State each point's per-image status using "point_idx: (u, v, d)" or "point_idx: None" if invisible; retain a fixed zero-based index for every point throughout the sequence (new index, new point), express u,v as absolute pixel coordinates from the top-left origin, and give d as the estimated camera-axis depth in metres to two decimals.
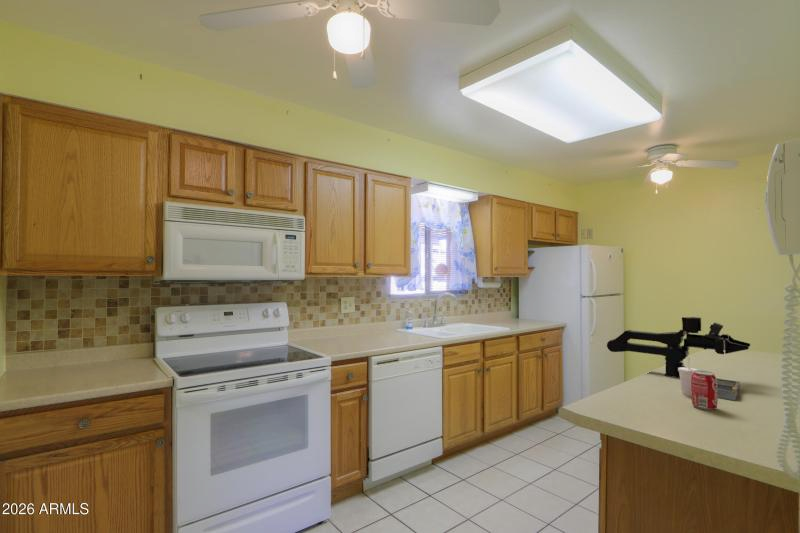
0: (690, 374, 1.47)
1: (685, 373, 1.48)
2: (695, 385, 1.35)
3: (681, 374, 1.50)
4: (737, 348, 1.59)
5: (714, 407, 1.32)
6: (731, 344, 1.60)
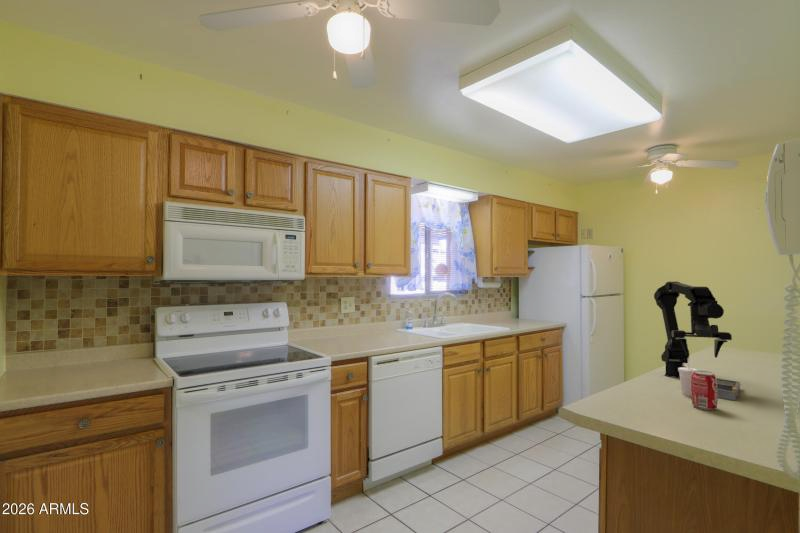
0: (690, 374, 1.47)
1: (685, 373, 1.48)
2: (695, 385, 1.35)
3: (681, 374, 1.50)
4: (683, 347, 1.62)
5: (714, 407, 1.32)
6: None
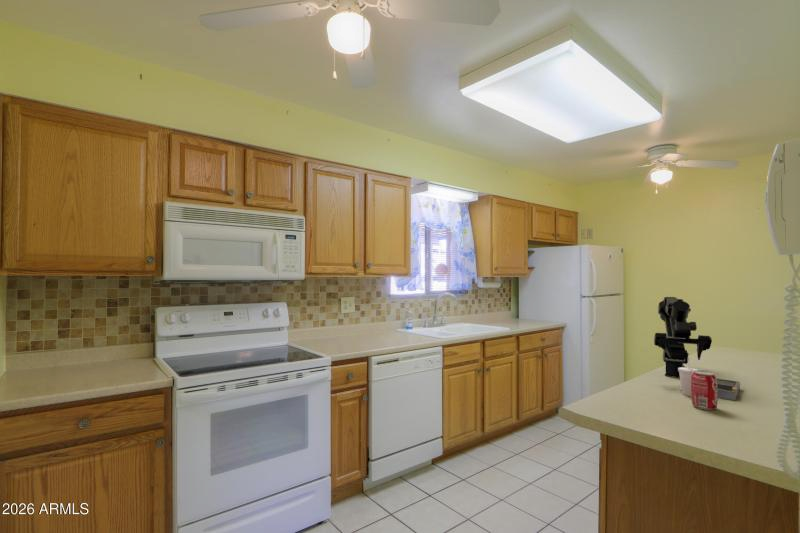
0: (690, 374, 1.47)
1: (685, 373, 1.48)
2: (695, 385, 1.35)
3: (681, 374, 1.50)
4: (666, 350, 1.61)
5: (714, 407, 1.32)
6: None
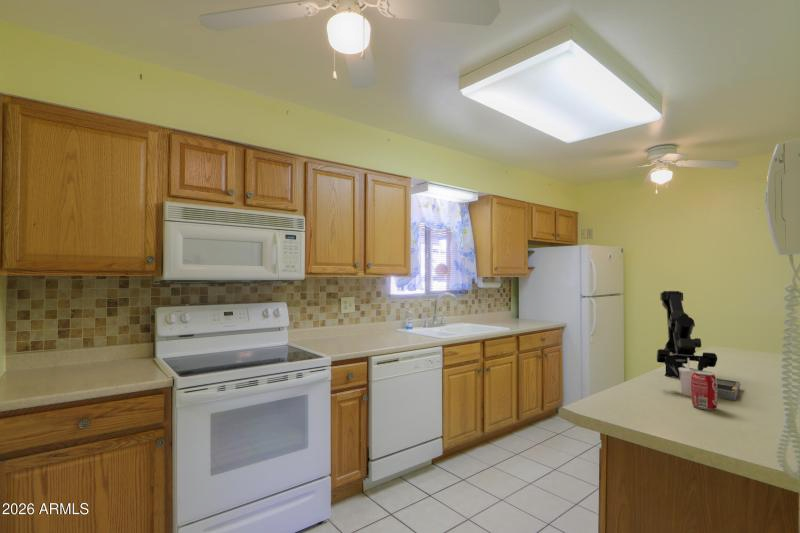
0: (690, 374, 1.47)
1: (685, 373, 1.48)
2: (695, 385, 1.35)
3: (681, 374, 1.50)
4: (673, 368, 1.53)
5: (714, 407, 1.32)
6: None
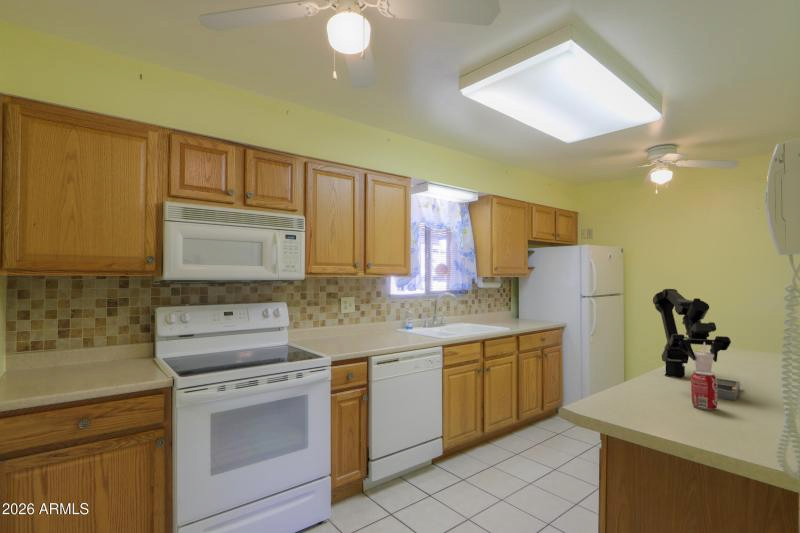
0: (707, 358, 1.47)
1: (702, 357, 1.48)
2: (695, 385, 1.35)
3: (697, 358, 1.49)
4: (688, 353, 1.53)
5: (714, 407, 1.32)
6: (686, 347, 1.53)
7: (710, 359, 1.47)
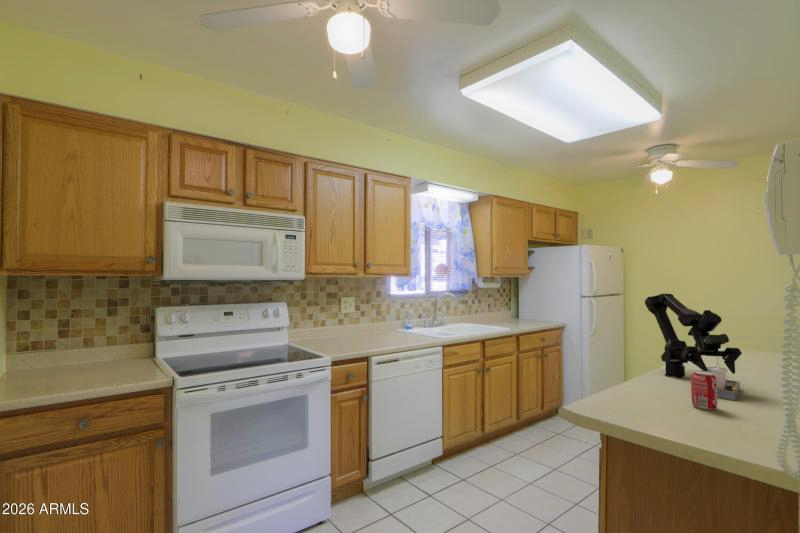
0: (722, 373, 1.48)
1: (717, 372, 1.49)
2: (695, 385, 1.35)
3: None
4: (699, 365, 1.53)
5: (714, 407, 1.32)
6: (697, 359, 1.53)
7: (724, 374, 1.48)
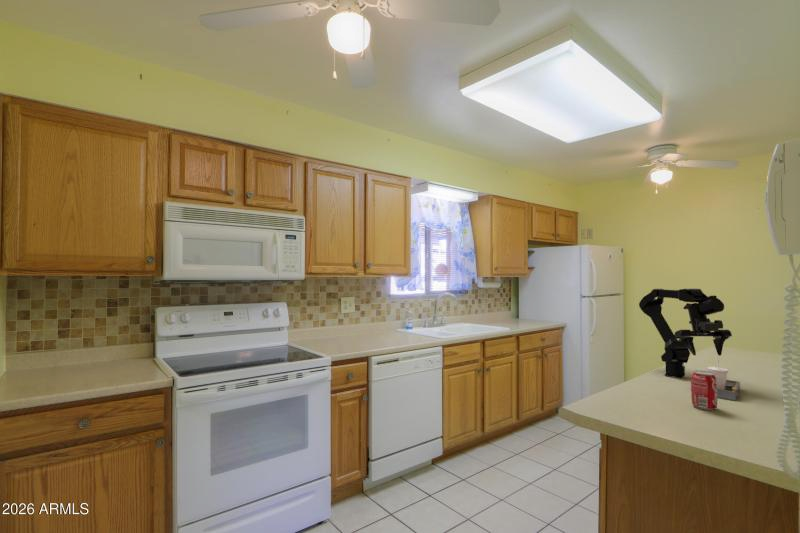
0: (722, 374, 1.48)
1: (717, 373, 1.49)
2: (695, 385, 1.35)
3: None
4: (689, 347, 1.63)
5: (714, 407, 1.32)
6: (688, 342, 1.62)
7: (725, 374, 1.48)
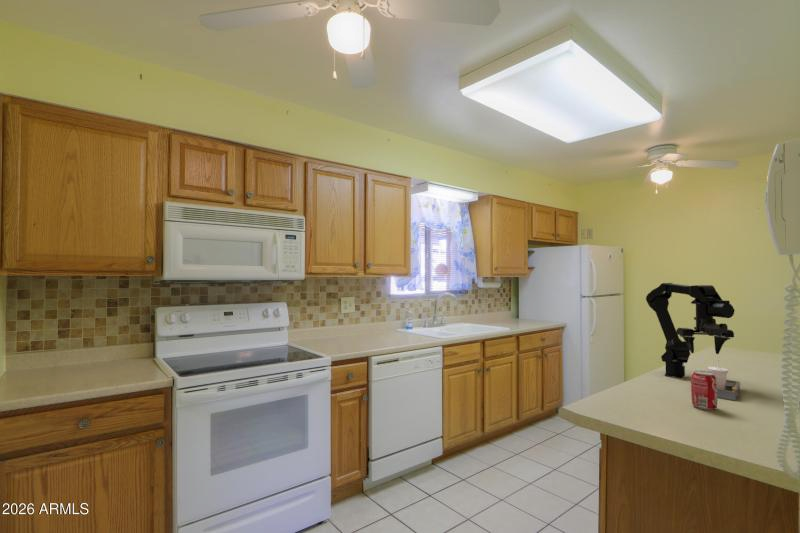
0: (722, 374, 1.48)
1: (717, 373, 1.49)
2: (695, 385, 1.35)
3: None
4: (688, 344, 1.65)
5: (714, 407, 1.32)
6: None
7: (725, 374, 1.48)
